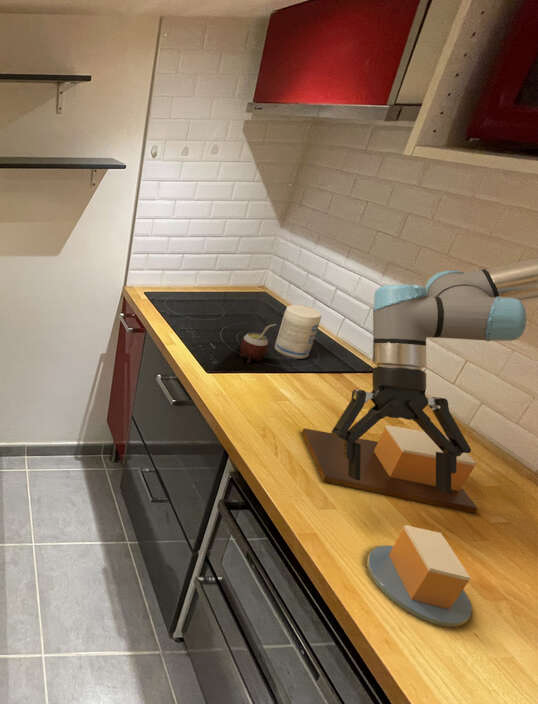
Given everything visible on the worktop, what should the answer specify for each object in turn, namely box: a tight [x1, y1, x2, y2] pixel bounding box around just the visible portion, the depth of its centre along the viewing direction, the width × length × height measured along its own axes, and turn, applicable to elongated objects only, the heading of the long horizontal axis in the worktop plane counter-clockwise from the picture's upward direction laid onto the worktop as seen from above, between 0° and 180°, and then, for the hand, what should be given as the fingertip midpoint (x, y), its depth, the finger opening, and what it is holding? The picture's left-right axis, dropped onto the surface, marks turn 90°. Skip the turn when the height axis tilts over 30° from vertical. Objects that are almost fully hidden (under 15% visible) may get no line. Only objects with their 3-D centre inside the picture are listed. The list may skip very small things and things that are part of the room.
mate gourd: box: [239, 323, 278, 364], centre depth 135 cm, size 8×8×15 cm
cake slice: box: [389, 524, 472, 609], centre depth 72 cm, size 5×8×8 cm, turn 163°
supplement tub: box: [274, 304, 322, 360], centre depth 140 cm, size 10×10×15 cm
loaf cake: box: [374, 424, 477, 491], centre depth 94 cm, size 12×8×8 cm, turn 73°
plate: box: [366, 545, 473, 628], centre depth 73 cm, size 13×13×1 cm
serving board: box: [301, 427, 479, 514], centre depth 97 cm, size 26×16×2 cm, turn 73°
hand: (397, 484), depth 81 cm, fingers open, 13 cm apart
